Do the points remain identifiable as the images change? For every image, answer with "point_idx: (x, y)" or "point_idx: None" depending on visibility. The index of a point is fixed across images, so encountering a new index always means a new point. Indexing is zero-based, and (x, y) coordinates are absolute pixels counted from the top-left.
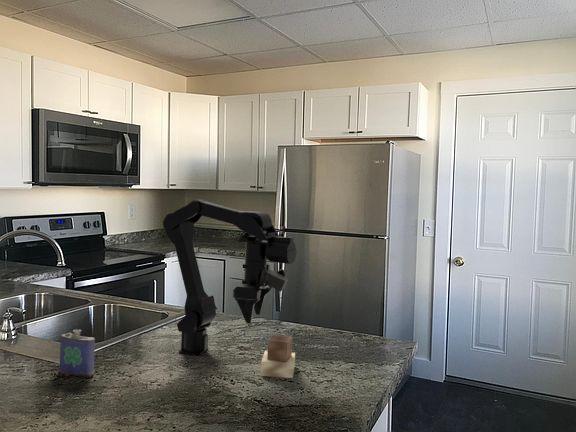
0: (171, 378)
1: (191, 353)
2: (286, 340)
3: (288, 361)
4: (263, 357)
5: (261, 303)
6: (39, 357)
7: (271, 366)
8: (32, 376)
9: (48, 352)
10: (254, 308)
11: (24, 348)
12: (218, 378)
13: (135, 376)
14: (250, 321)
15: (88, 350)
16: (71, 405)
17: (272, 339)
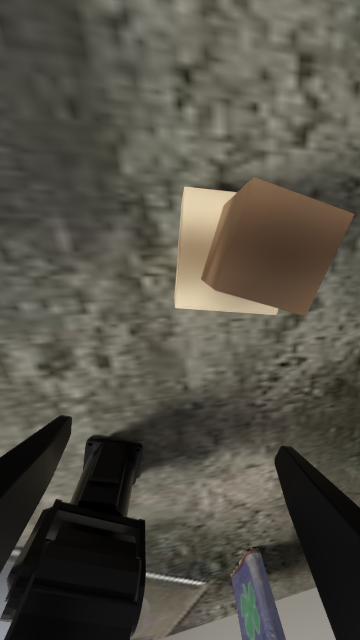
0: (269, 462)
1: (139, 461)
2: (317, 220)
3: None
4: (242, 309)
5: (1, 503)
6: (188, 607)
7: None
8: None
9: (167, 607)
10: (46, 486)
11: (156, 627)
12: (272, 391)
13: (258, 506)
14: (303, 457)
15: (279, 618)
16: None
17: (299, 296)
